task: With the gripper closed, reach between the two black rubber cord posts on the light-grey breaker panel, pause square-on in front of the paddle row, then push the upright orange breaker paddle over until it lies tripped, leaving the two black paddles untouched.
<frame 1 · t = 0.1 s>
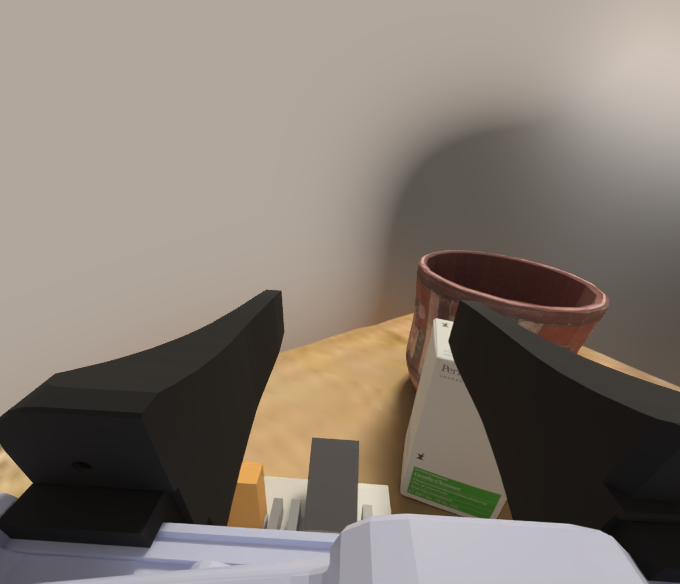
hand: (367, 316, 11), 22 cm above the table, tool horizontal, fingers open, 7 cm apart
skincare box: (444, 477, 27), on the table
paddle 1: (332, 485, 22), point 4 cm above the table, hinge at 55.0°
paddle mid: (235, 500, 20), point 5 cm above the table, hinge at 0.0°
pottery: (463, 397, 37), on the table
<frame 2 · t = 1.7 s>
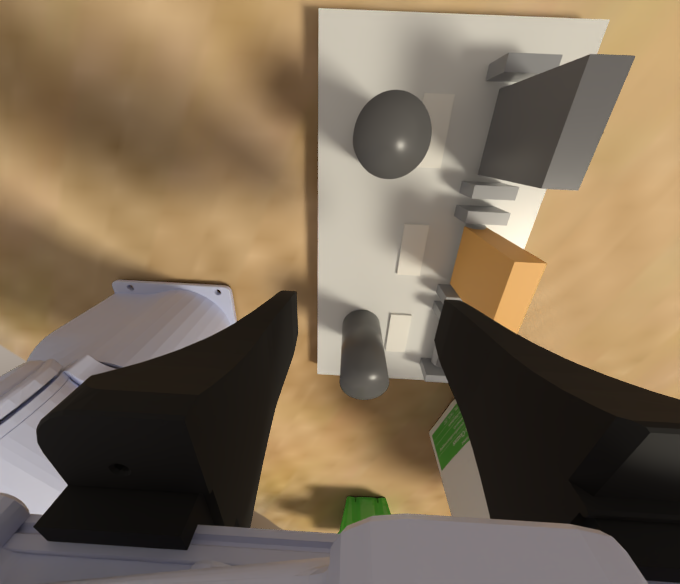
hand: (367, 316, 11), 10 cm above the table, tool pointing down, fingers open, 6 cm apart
paddle 2: (529, 132, 12), point 5 cm above the table, hinge at 0.0°
breaker panel: (415, 245, 20), on the table
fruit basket: (360, 511, 39), on the table
skincare box: (472, 415, 28), on the table
paddle 1: (480, 356, 20), point 4 cm above the table, hinge at 55.0°
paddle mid: (484, 273, 16), point 5 cm above the table, hinge at 0.0°
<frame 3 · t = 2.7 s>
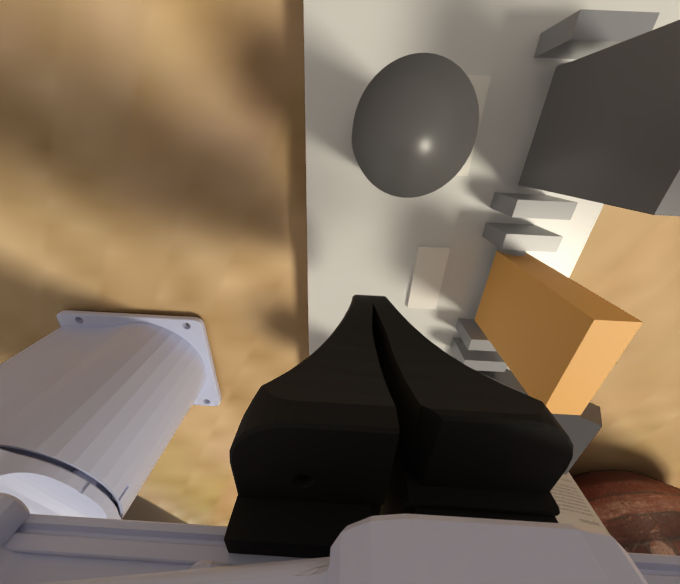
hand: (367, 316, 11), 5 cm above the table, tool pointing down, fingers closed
paddle 2: (609, 127, 9), point 5 cm above the table, hinge at 0.0°
breaker panel: (430, 270, 16), on the table
skincare box: (491, 459, 25), on the table
paddle 1: (511, 408, 16), point 4 cm above the table, hinge at 55.0°
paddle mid: (528, 316, 12), point 5 cm above the table, hinge at 0.0°
pottery: (584, 501, 27), on the table
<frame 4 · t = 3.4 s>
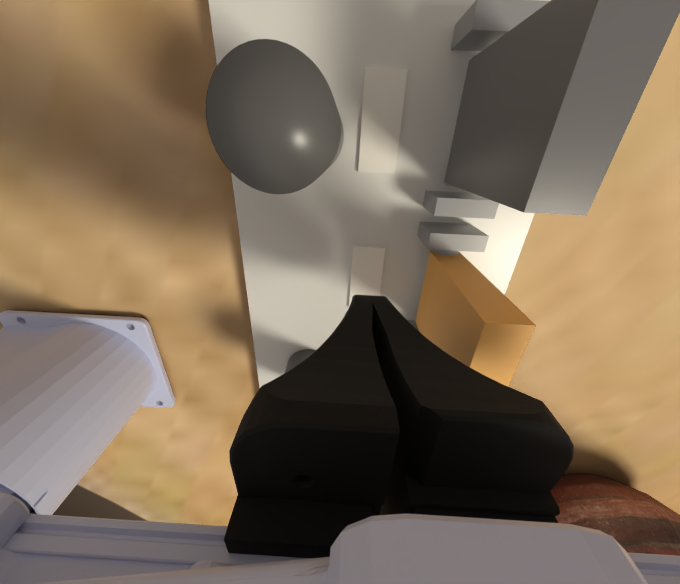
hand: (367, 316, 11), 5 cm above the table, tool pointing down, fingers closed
paddle 2: (509, 121, 8), point 5 cm above the table, hinge at 0.0°
breaker panel: (373, 270, 16), on the table
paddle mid: (453, 318, 11), point 5 cm above the table, hinge at 0.0°
pottery: (552, 505, 27), on the table
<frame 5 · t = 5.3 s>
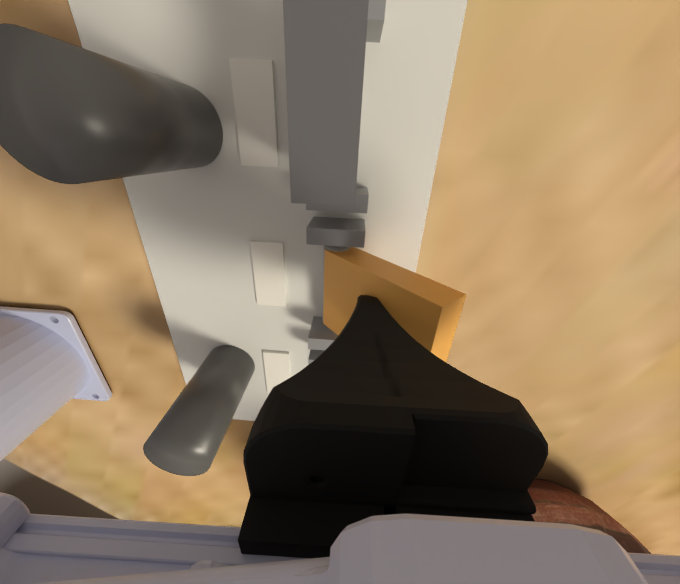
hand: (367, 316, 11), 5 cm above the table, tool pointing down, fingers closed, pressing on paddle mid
paddle 2: (336, 111, 8), point 5 cm above the table, hinge at 0.0°
breaker panel: (284, 266, 15), on the table
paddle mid: (373, 309, 12), point 4 cm above the table, hinge at 42.5°, touching gripper
pottery: (504, 509, 26), on the table
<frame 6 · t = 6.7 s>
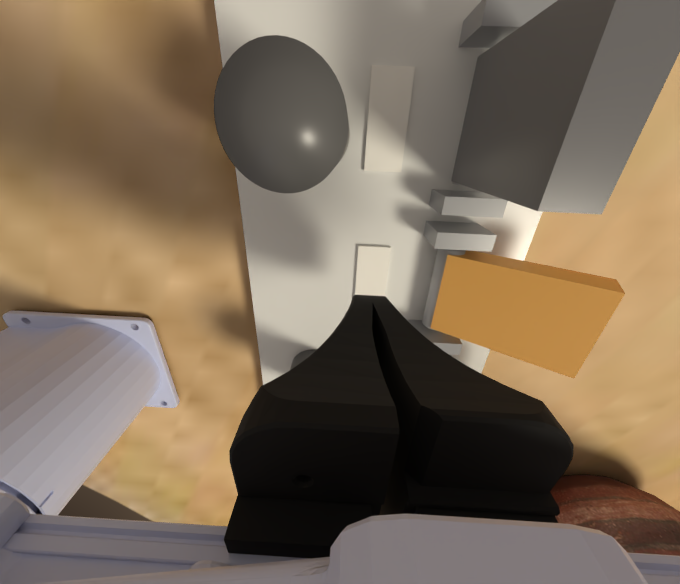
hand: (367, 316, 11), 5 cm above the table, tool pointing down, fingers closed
paddle 2: (520, 119, 8), point 5 cm above the table, hinge at 0.0°
breaker panel: (378, 269, 16), on the table
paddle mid: (502, 305, 12), point 3 cm above the table, hinge at 59.4°
pottery: (557, 506, 27), on the table
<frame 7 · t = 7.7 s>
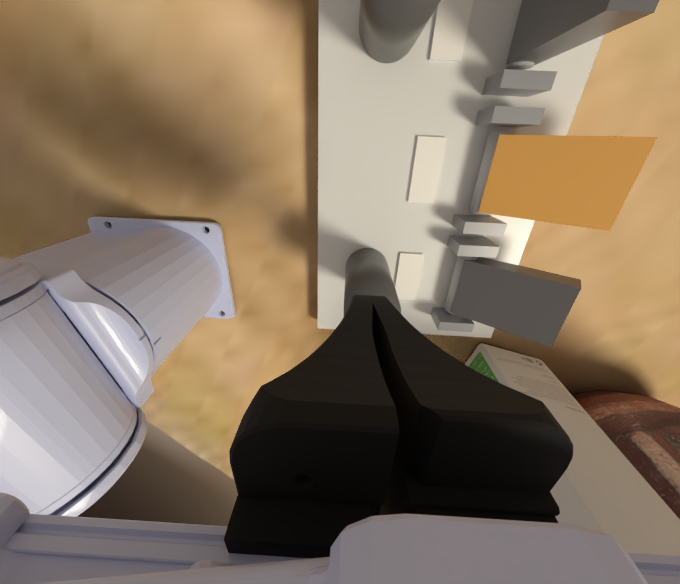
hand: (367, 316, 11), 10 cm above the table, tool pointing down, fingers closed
breaker panel: (428, 170, 18), on the table
skincare box: (486, 380, 26), on the table
paddle 1: (502, 296, 18), point 4 cm above the table, hinge at 55.0°
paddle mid: (545, 179, 15), point 3 cm above the table, hinge at 59.7°
pottery: (575, 428, 29), on the table
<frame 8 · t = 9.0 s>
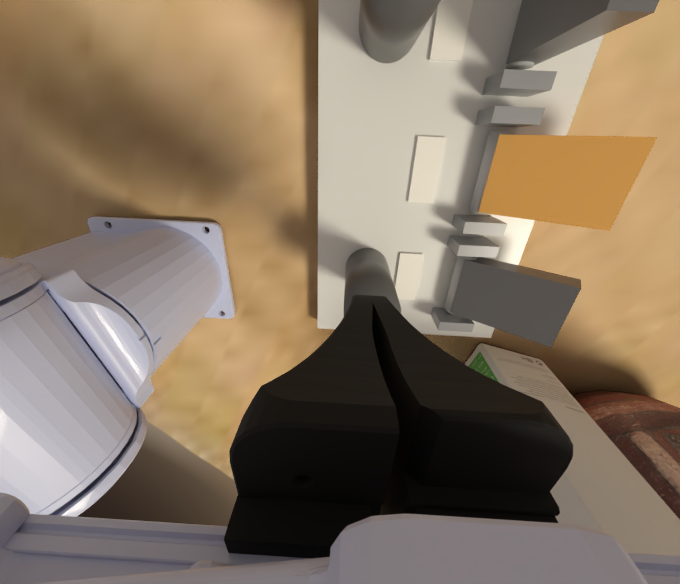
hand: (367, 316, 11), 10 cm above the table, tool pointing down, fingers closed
breaker panel: (428, 170, 18), on the table
skincare box: (486, 380, 26), on the table
paddle 1: (502, 296, 18), point 4 cm above the table, hinge at 55.0°
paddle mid: (545, 179, 15), point 3 cm above the table, hinge at 59.7°
pottery: (575, 428, 29), on the table
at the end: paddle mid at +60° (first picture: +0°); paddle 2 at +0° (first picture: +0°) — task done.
